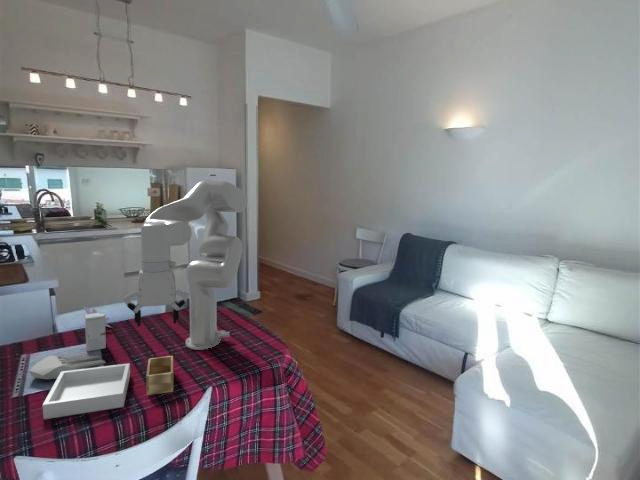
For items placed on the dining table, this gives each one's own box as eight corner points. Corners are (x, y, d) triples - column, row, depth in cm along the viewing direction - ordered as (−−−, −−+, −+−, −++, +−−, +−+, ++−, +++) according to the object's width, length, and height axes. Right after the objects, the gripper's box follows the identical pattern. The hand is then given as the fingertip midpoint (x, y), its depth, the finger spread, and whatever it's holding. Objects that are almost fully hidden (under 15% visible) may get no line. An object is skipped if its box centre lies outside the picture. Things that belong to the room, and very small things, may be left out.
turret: (107, 372, 123) (109, 358, 123) (32, 386, 109) (34, 370, 108) (96, 361, 130) (98, 348, 130) (24, 373, 115) (26, 358, 115)
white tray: (130, 375, 118) (129, 363, 117) (123, 406, 102) (122, 393, 102) (62, 384, 112) (61, 371, 111) (43, 419, 96) (42, 404, 95)
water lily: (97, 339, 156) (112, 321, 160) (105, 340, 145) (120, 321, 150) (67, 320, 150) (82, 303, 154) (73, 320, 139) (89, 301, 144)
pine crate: (173, 373, 121) (172, 355, 120) (173, 392, 110) (172, 372, 109) (149, 376, 118) (148, 358, 117) (146, 396, 108) (146, 376, 107)
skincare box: (86, 352, 131) (84, 318, 129) (86, 346, 135) (83, 314, 133) (106, 348, 135) (105, 315, 133) (105, 343, 138) (104, 311, 136)
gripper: (188, 262, 115) (188, 316, 117) (124, 264, 109) (126, 321, 112) (188, 268, 108) (188, 325, 111) (120, 270, 102) (122, 330, 105)
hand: (157, 323), depth 111 cm, fingers open, 9 cm apart
